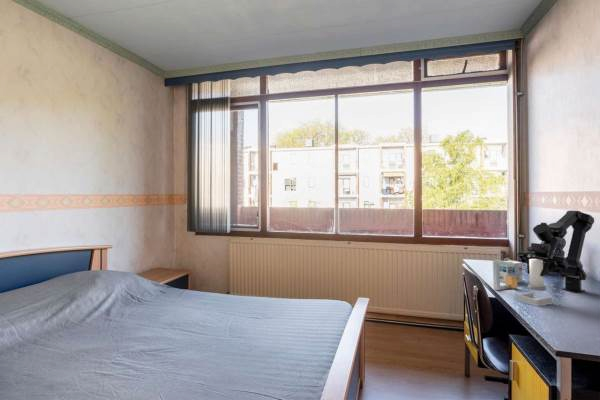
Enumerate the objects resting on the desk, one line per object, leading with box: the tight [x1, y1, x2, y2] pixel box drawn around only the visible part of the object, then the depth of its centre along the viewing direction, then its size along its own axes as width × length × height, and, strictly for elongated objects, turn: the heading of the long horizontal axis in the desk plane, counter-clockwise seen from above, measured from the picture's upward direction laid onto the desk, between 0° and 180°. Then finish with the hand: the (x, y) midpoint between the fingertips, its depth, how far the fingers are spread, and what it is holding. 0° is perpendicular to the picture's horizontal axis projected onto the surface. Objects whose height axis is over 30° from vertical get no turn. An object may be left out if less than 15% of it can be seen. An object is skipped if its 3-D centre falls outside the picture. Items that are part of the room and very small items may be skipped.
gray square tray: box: [516, 292, 554, 307], centre depth 143 cm, size 9×9×2 cm
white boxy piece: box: [492, 259, 518, 291], centre depth 159 cm, size 13×13×15 cm
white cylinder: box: [527, 259, 547, 292], centre depth 144 cm, size 7×7×13 cm
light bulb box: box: [500, 260, 523, 284], centre depth 177 cm, size 11×7×11 cm, turn 105°
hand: (534, 274), depth 143 cm, fingers closed on white cylinder, 5 cm apart
